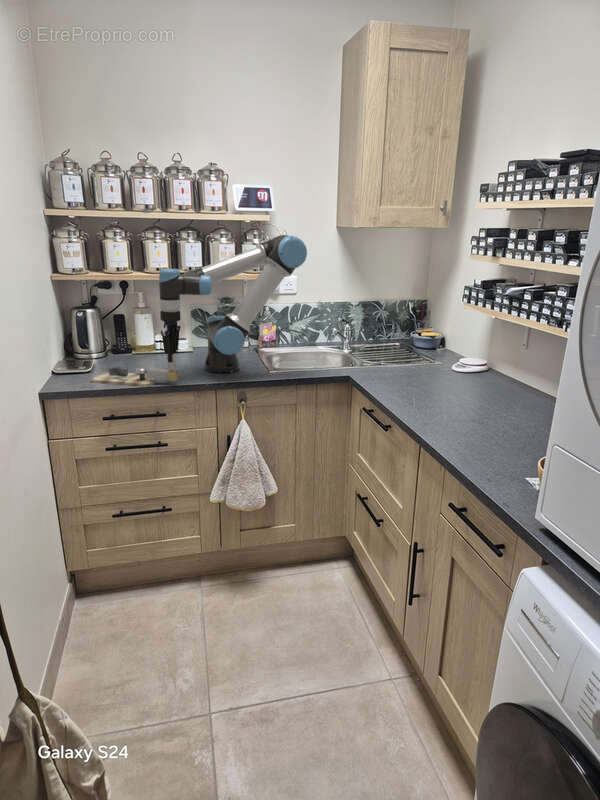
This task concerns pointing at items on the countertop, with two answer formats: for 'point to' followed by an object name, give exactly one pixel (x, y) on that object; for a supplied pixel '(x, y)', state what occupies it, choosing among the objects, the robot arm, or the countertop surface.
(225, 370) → the robot arm
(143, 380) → the jamb plate
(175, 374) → the swing bar
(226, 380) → the countertop surface
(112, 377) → the keeper plate
